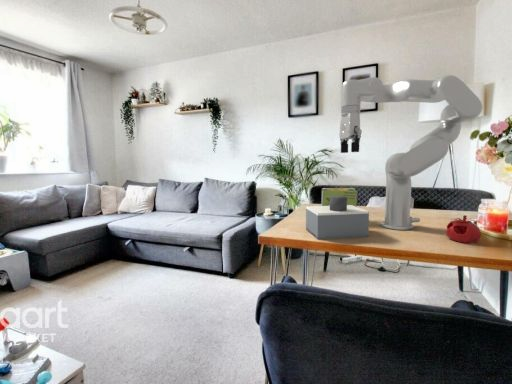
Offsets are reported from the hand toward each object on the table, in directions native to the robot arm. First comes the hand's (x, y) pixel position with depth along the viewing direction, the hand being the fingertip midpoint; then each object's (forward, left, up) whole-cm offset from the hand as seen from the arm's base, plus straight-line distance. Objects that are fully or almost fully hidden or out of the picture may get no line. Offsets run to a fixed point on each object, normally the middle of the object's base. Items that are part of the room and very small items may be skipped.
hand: (349, 152), depth 114 cm
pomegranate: (-30, +27, -33) cm, 52 cm away
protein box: (0, -10, -33) cm, 34 cm away
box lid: (+10, +10, -23) cm, 27 cm away
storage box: (+10, +10, -32) cm, 35 cm away
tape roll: (+10, +12, -22) cm, 27 cm away
